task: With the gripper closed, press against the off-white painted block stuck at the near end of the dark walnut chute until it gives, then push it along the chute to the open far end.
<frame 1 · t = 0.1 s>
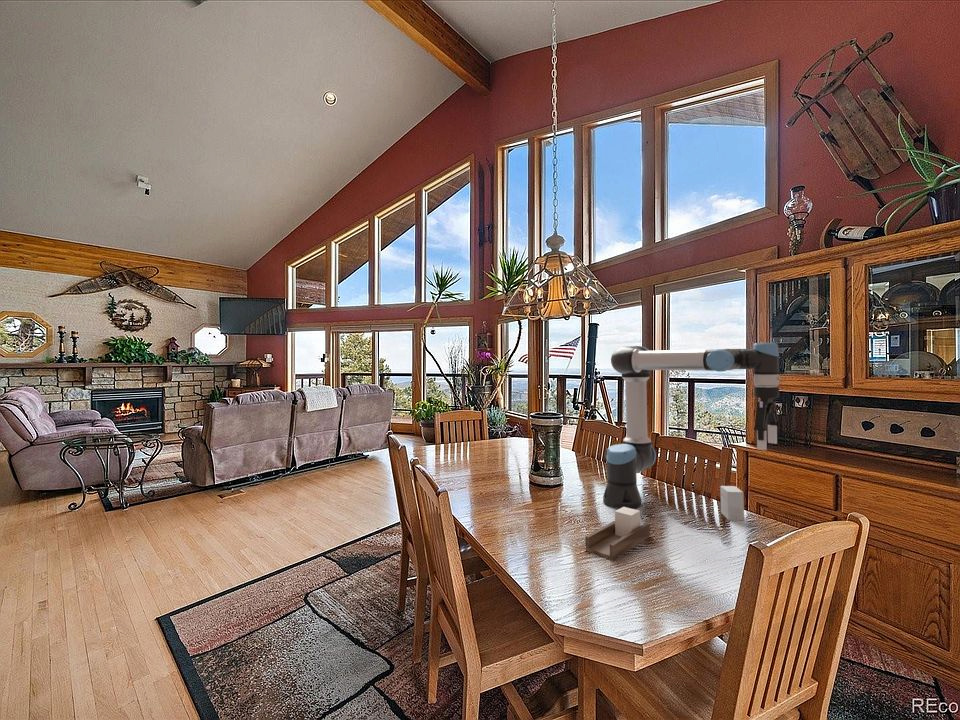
hand: (767, 446, 159), 28 cm above the table, fingers open, 13 cm apart
block: (627, 522, 151), point 5 cm above the table, slide at 0.0 cm
chute: (618, 543, 147), on the table
small box: (732, 517, 168), on the table
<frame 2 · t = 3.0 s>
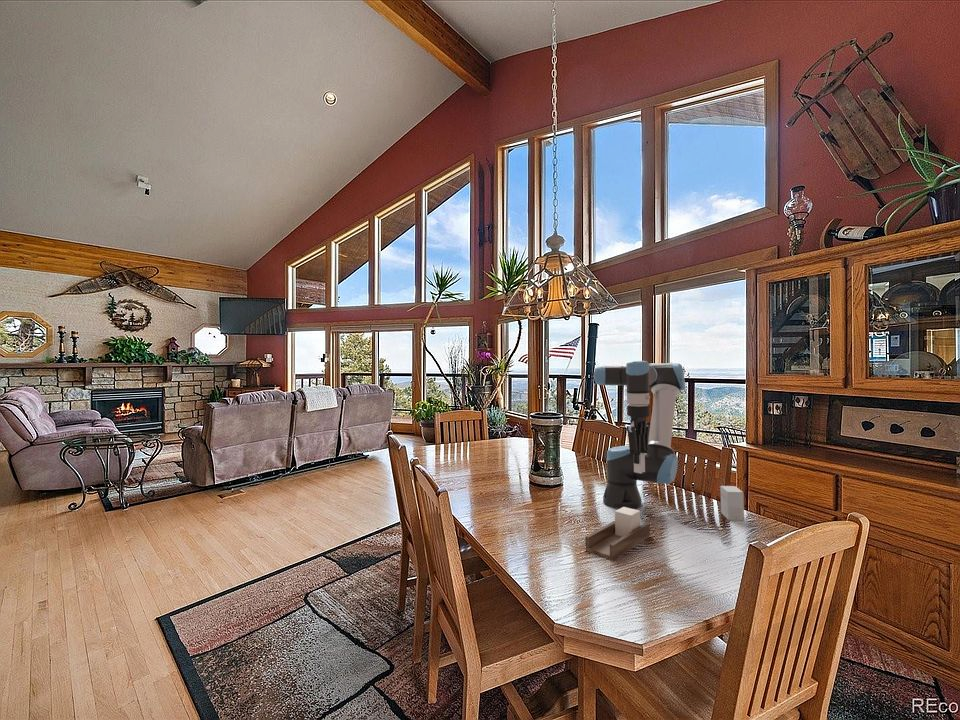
hand: (639, 471, 157), 20 cm above the table, fingers closed
nothing on the table moved.
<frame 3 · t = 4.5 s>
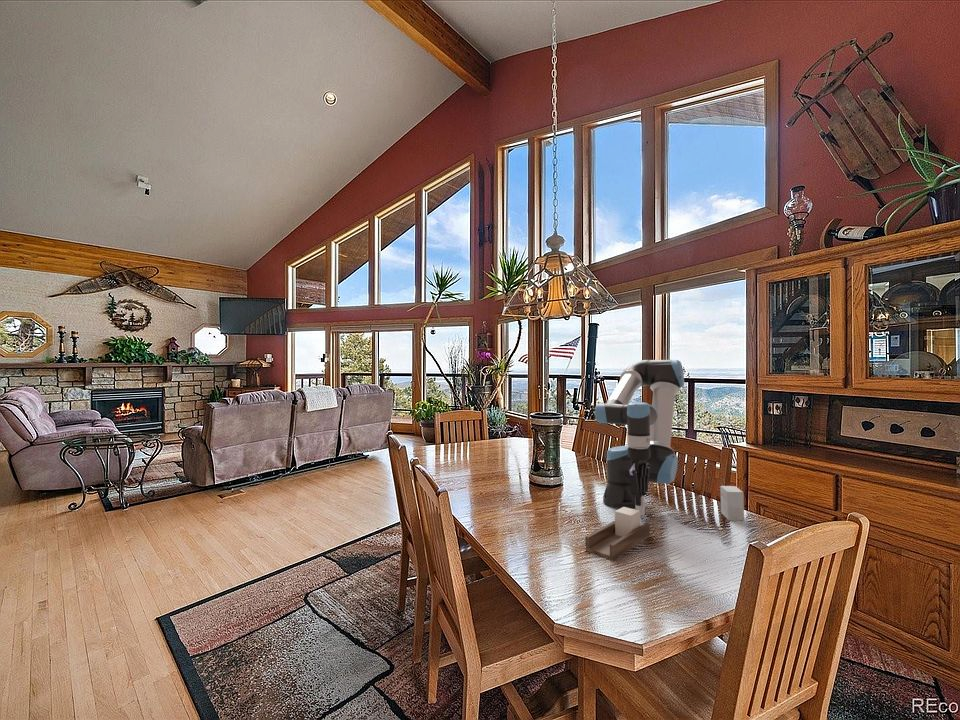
hand: (640, 513, 158), 6 cm above the table, fingers closed
nothing on the table moved.
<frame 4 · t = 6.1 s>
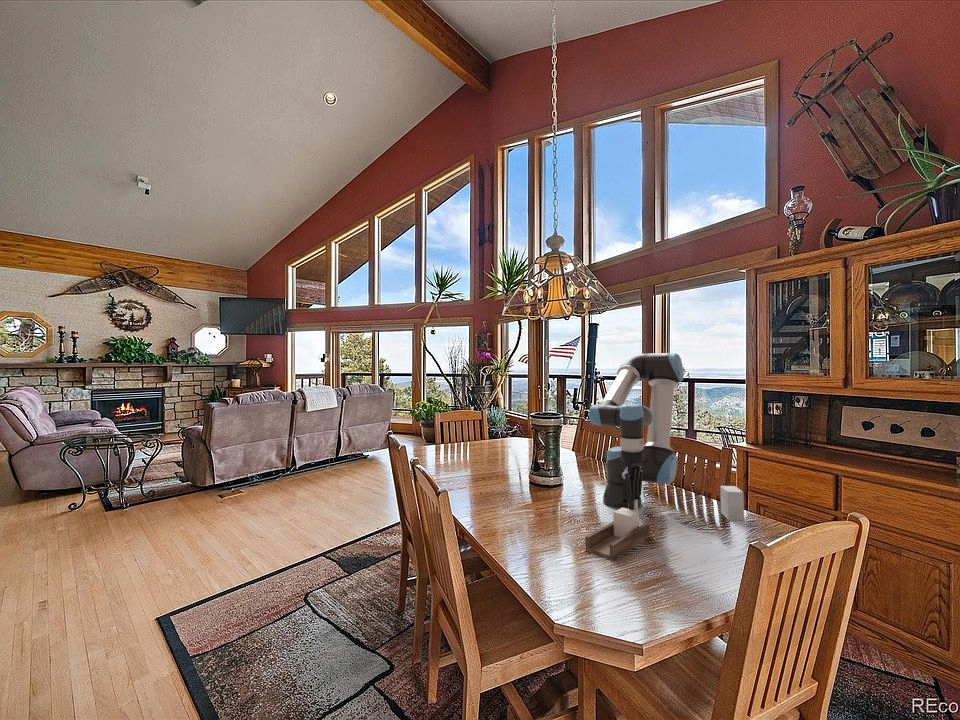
hand: (633, 518, 154), 6 cm above the table, fingers closed
block: (626, 523, 151), point 5 cm above the table, slide at 0.9 cm, touching gripper
everything else where it was.
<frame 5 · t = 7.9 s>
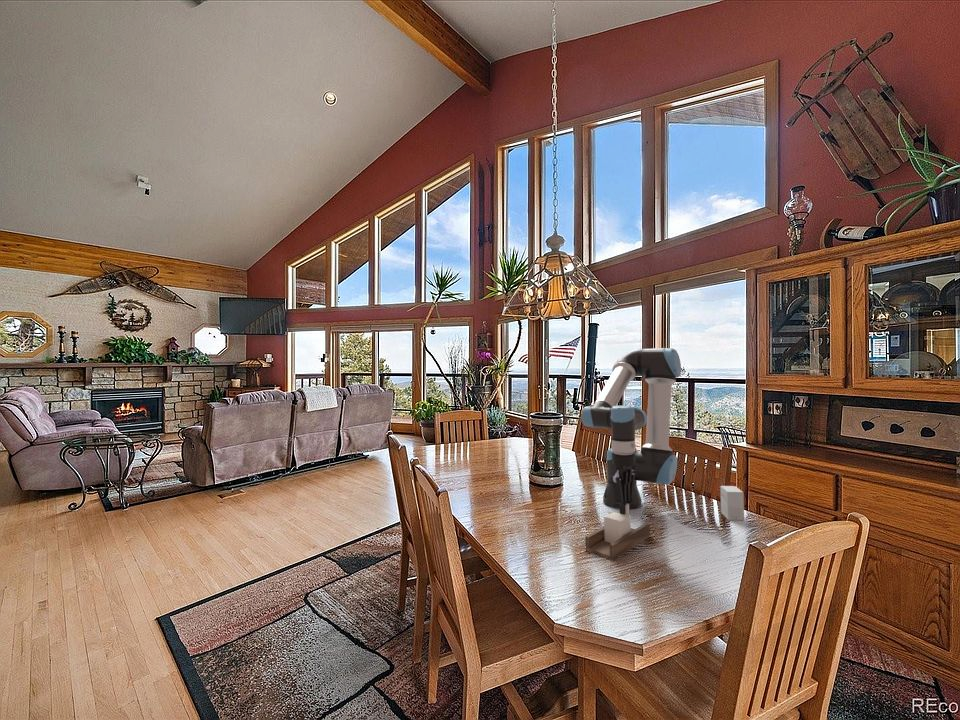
hand: (624, 522, 150), 6 cm above the table, fingers closed
block: (617, 528, 147), point 5 cm above the table, slide at 6.8 cm, touching gripper
everything else where it was.
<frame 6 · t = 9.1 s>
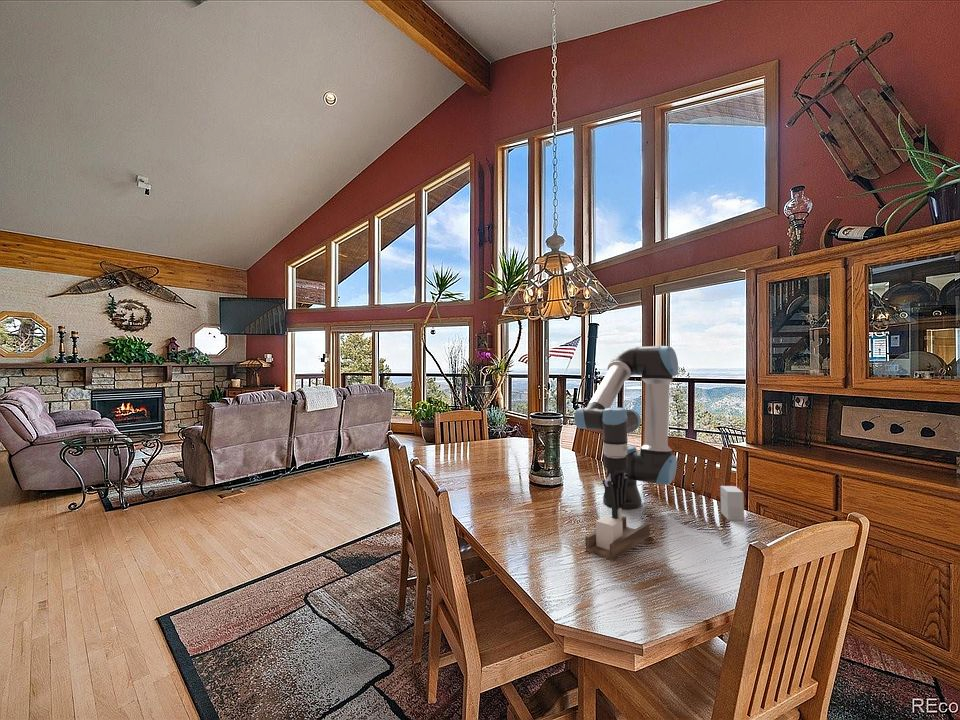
hand: (617, 527, 147), 5 cm above the table, fingers closed
block: (609, 533, 143), point 5 cm above the table, slide at 11.8 cm, touching gripper
everything else where it was.
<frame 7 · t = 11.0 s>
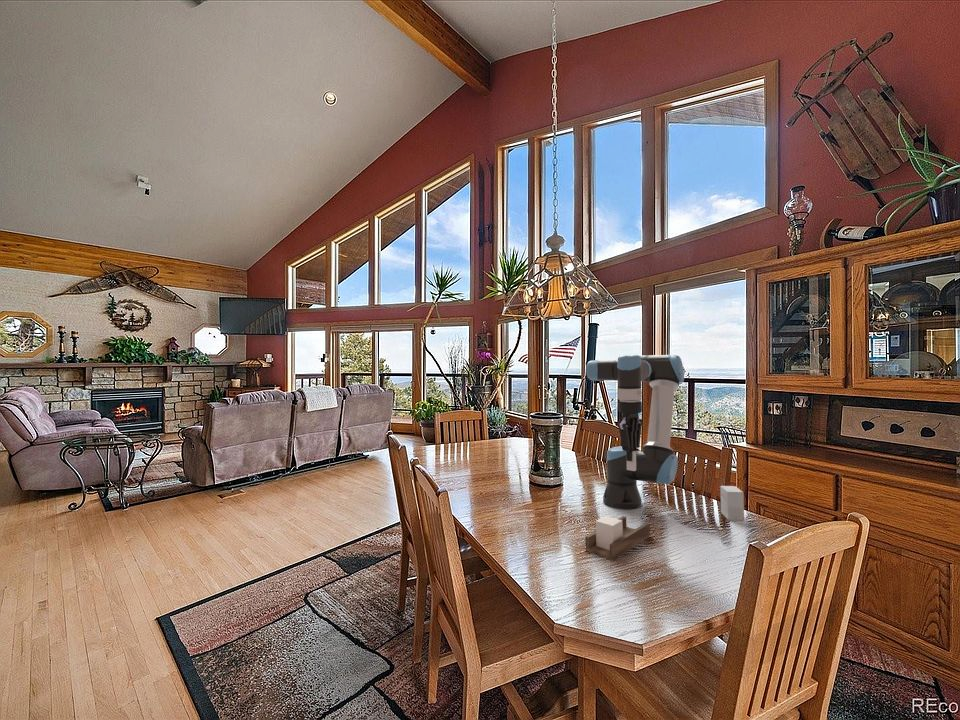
hand: (631, 469, 152), 23 cm above the table, fingers closed
block: (609, 533, 143), point 5 cm above the table, slide at 11.8 cm
everything else where it was.
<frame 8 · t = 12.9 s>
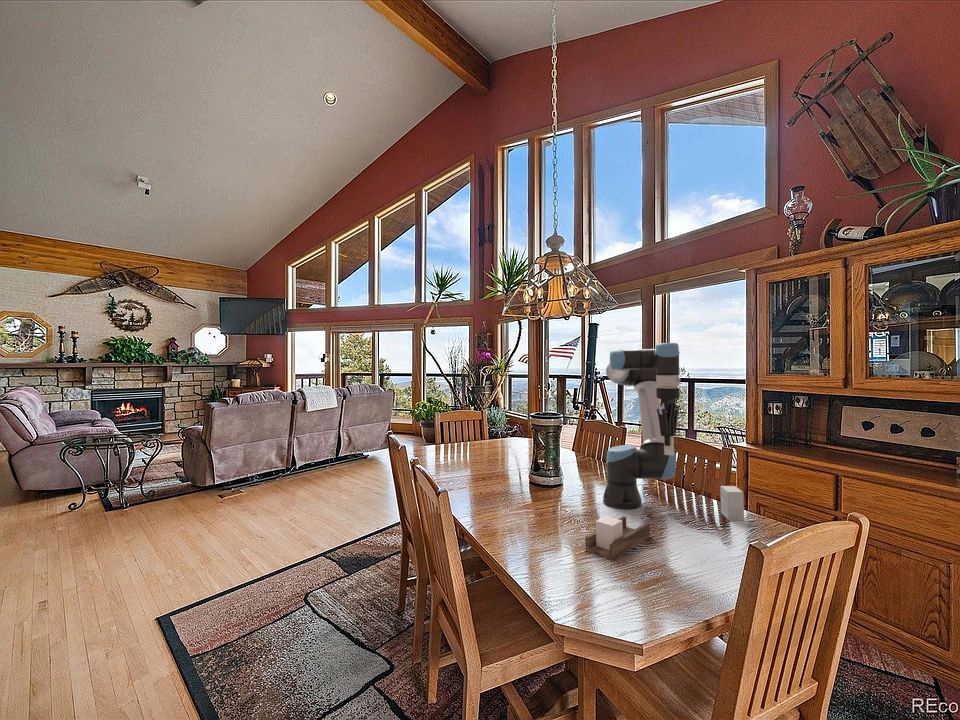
hand: (669, 454, 157), 26 cm above the table, fingers closed
nothing on the table moved.
at the end: block slide at 11.8 cm; the gripper is holding nothing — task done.
